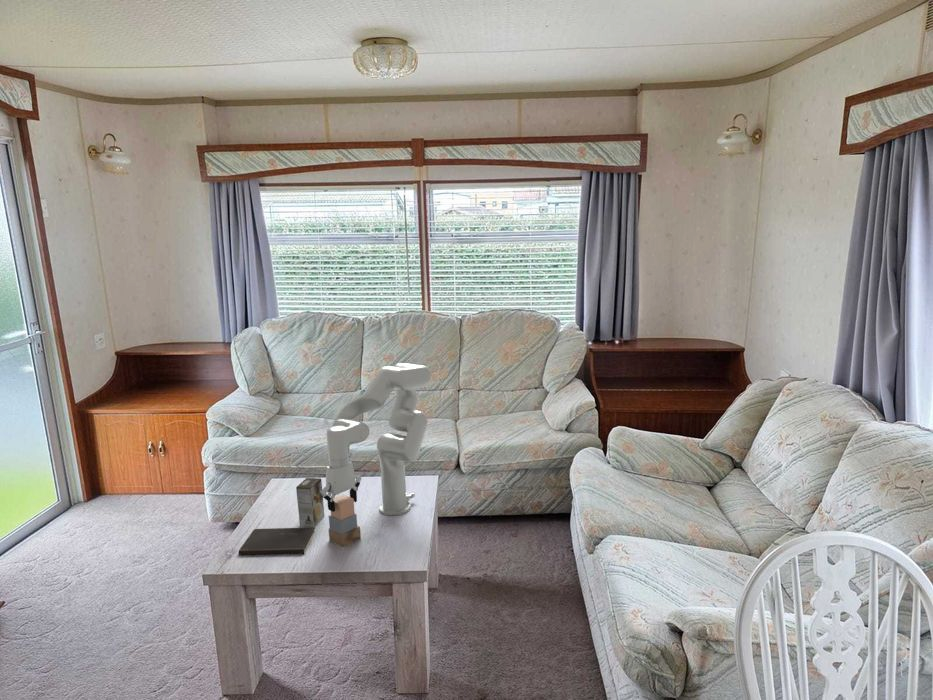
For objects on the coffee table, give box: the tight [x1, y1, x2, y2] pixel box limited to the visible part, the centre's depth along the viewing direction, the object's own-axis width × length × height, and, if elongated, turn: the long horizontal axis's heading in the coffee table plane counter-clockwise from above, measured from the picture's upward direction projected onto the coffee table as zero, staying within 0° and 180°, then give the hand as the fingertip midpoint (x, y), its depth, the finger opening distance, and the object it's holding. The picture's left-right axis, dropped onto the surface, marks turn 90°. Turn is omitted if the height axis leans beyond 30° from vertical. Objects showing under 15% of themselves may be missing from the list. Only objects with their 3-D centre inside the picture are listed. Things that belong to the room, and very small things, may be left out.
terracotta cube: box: [330, 493, 356, 520], centre depth 214 cm, size 6×6×6 cm
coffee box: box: [295, 477, 325, 528], centre depth 230 cm, size 9×6×16 cm
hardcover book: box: [238, 526, 316, 557], centre depth 215 cm, size 16×23×2 cm
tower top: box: [328, 513, 358, 534], centre depth 215 cm, size 7×7×5 cm
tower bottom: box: [328, 525, 362, 548], centre depth 216 cm, size 8×8×5 cm
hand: (342, 505), depth 214 cm, fingers open, 9 cm apart
